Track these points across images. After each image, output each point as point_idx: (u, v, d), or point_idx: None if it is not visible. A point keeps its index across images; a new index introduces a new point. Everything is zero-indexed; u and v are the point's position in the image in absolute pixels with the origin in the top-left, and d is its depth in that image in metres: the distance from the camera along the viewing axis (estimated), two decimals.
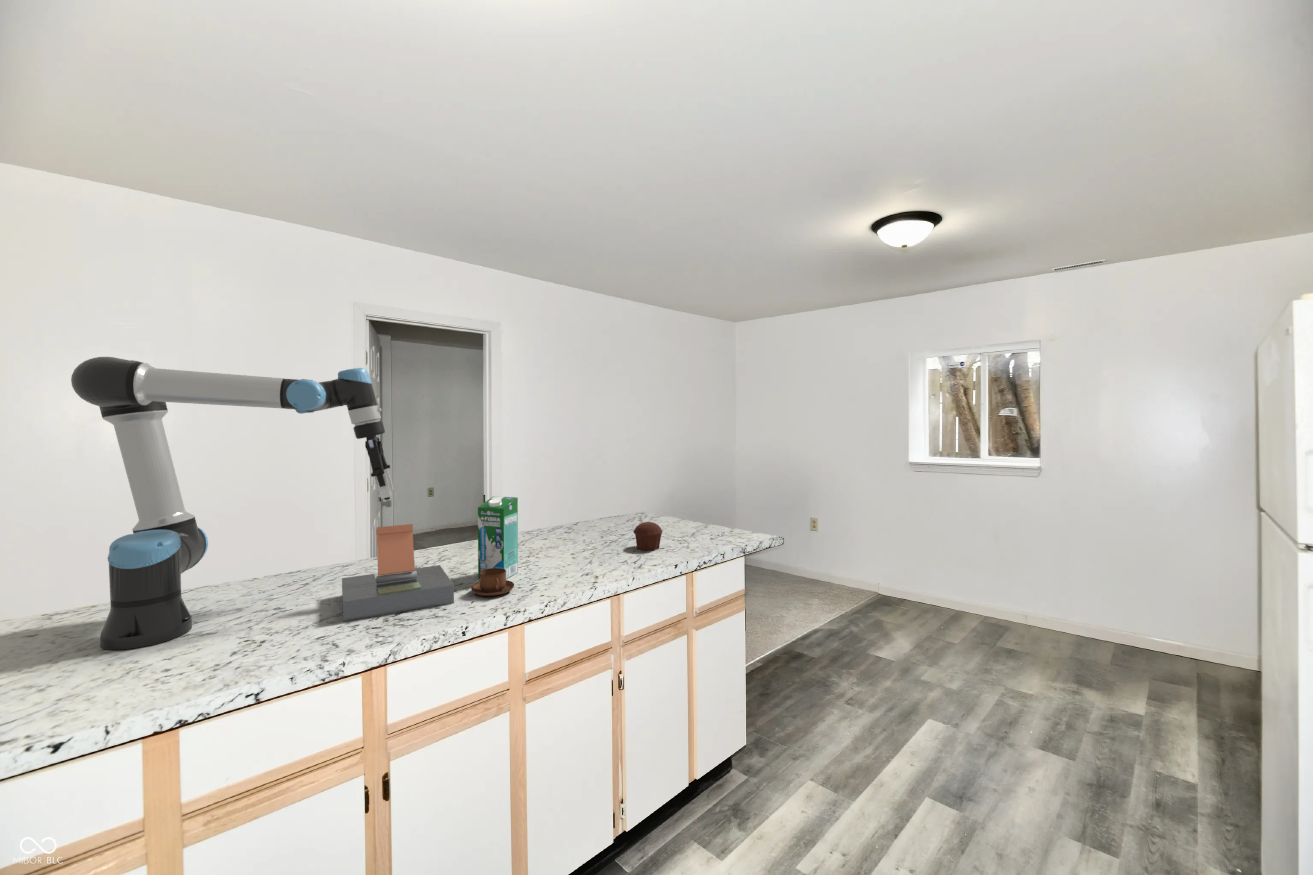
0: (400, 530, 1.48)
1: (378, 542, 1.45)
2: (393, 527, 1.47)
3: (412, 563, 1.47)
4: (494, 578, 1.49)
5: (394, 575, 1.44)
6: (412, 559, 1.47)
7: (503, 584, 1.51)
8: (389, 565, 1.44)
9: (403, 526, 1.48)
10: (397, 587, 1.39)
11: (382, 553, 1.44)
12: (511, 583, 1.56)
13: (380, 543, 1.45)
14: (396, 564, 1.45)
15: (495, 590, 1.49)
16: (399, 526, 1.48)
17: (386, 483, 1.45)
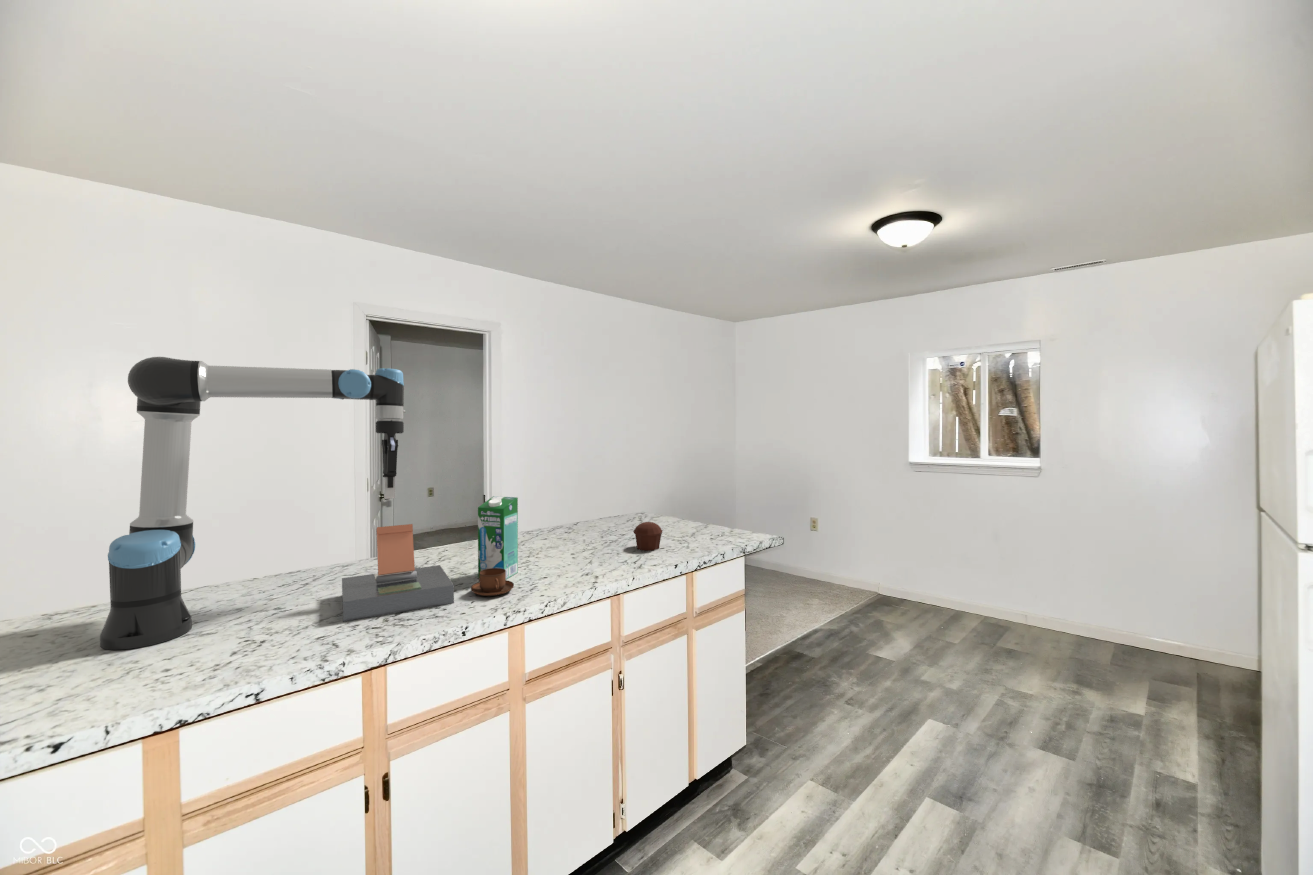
0: (400, 530, 1.48)
1: (378, 542, 1.45)
2: (393, 527, 1.47)
3: (412, 563, 1.47)
4: (494, 578, 1.49)
5: (394, 575, 1.44)
6: (412, 559, 1.47)
7: (503, 584, 1.51)
8: (389, 565, 1.44)
9: (403, 526, 1.48)
10: (397, 587, 1.39)
11: (382, 553, 1.44)
12: (511, 583, 1.56)
13: (380, 543, 1.45)
14: (396, 564, 1.45)
15: (495, 590, 1.49)
16: (399, 526, 1.48)
17: (393, 486, 1.57)
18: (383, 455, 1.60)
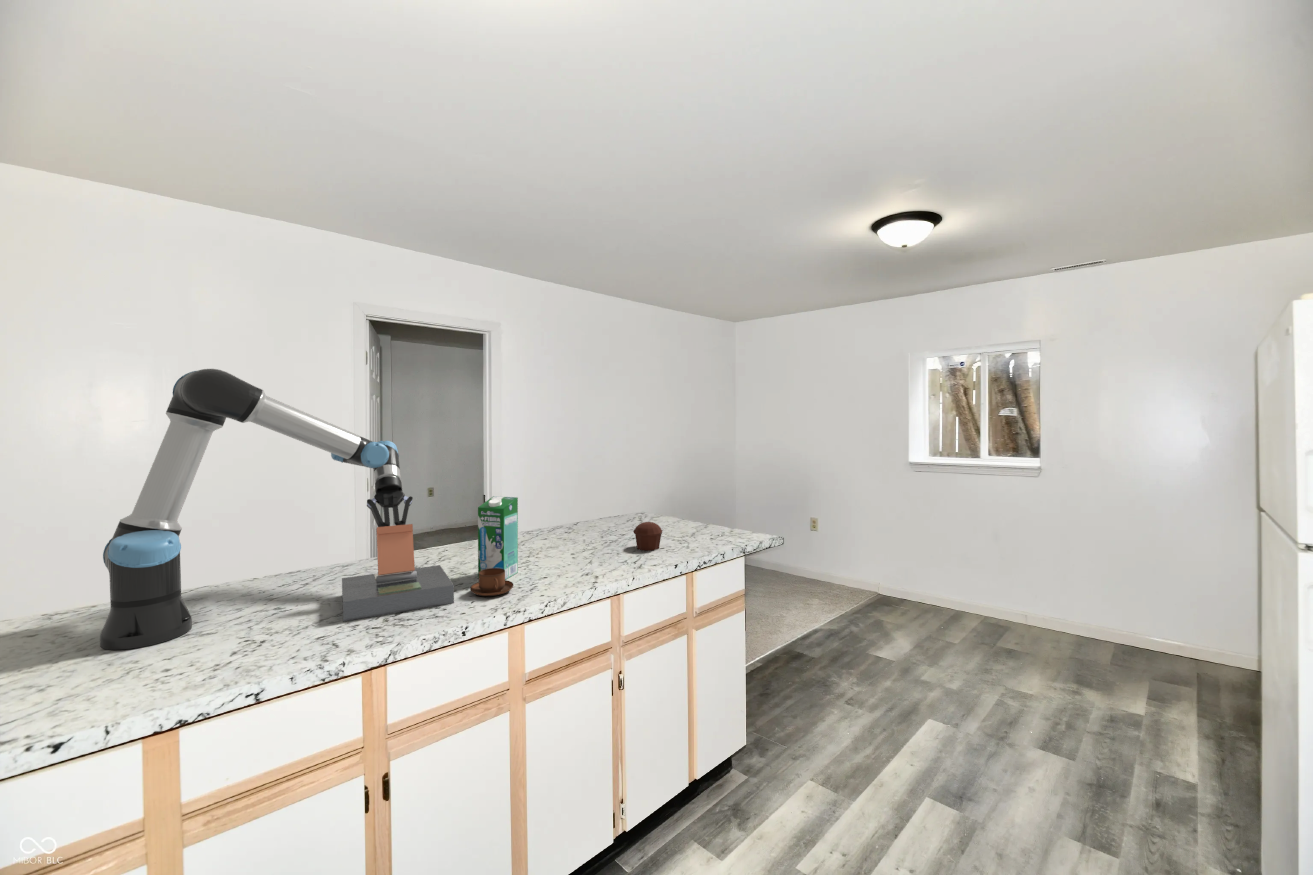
0: (400, 530, 1.48)
1: (378, 542, 1.45)
2: (393, 527, 1.47)
3: (412, 563, 1.47)
4: (493, 578, 1.49)
5: (394, 575, 1.44)
6: (412, 559, 1.47)
7: (502, 584, 1.51)
8: (389, 565, 1.44)
9: (403, 526, 1.48)
10: (397, 587, 1.39)
11: (382, 553, 1.44)
12: (510, 583, 1.56)
13: (380, 543, 1.45)
14: (396, 564, 1.45)
15: (494, 590, 1.49)
16: (399, 526, 1.48)
17: None
18: None
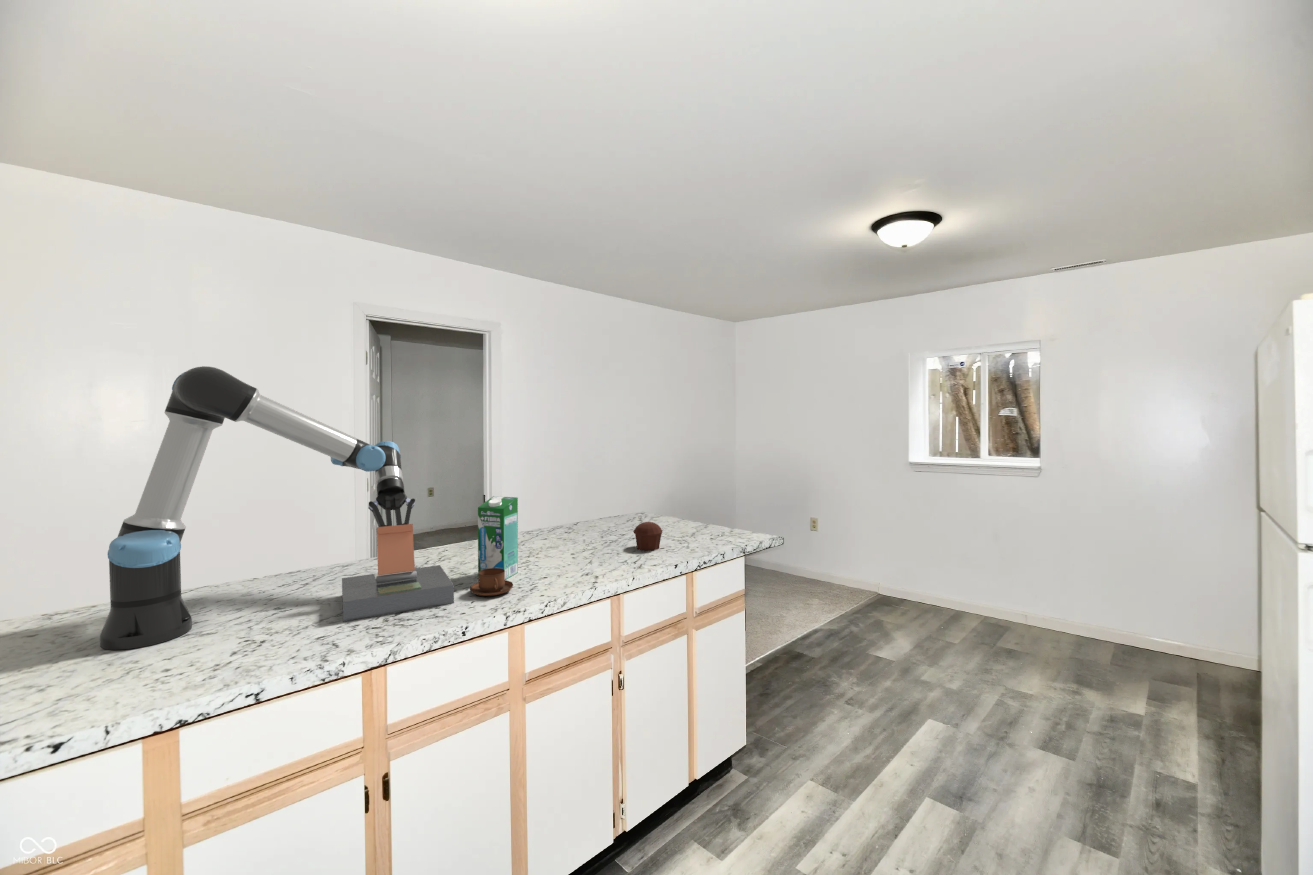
0: (400, 530, 1.47)
1: (378, 542, 1.44)
2: (393, 527, 1.47)
3: (412, 563, 1.47)
4: (493, 578, 1.49)
5: (394, 575, 1.44)
6: (412, 559, 1.47)
7: (502, 584, 1.51)
8: (389, 565, 1.44)
9: (403, 526, 1.48)
10: (397, 587, 1.39)
11: (382, 553, 1.44)
12: (510, 583, 1.56)
13: (380, 543, 1.44)
14: (396, 564, 1.45)
15: (494, 590, 1.49)
16: (399, 526, 1.48)
17: None
18: None
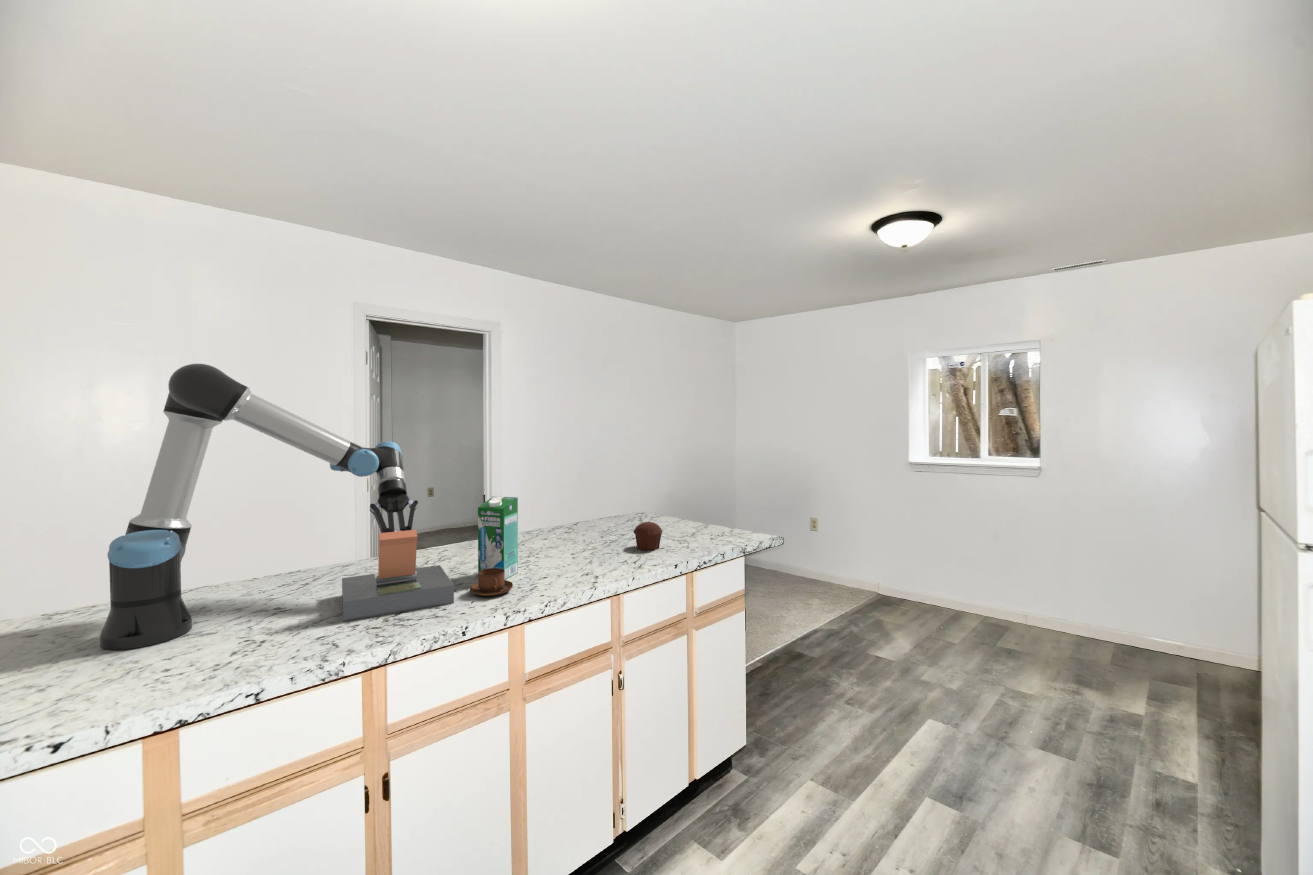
0: (404, 542, 1.40)
1: (380, 552, 1.38)
2: (397, 539, 1.39)
3: (413, 568, 1.45)
4: (493, 578, 1.49)
5: (394, 578, 1.44)
6: (413, 565, 1.45)
7: (502, 584, 1.51)
8: (390, 571, 1.42)
9: (407, 538, 1.40)
10: (397, 587, 1.39)
11: (384, 561, 1.40)
12: (510, 583, 1.56)
13: (382, 553, 1.39)
14: (397, 570, 1.43)
15: (494, 590, 1.49)
16: (403, 538, 1.39)
17: None
18: (380, 513, 1.49)
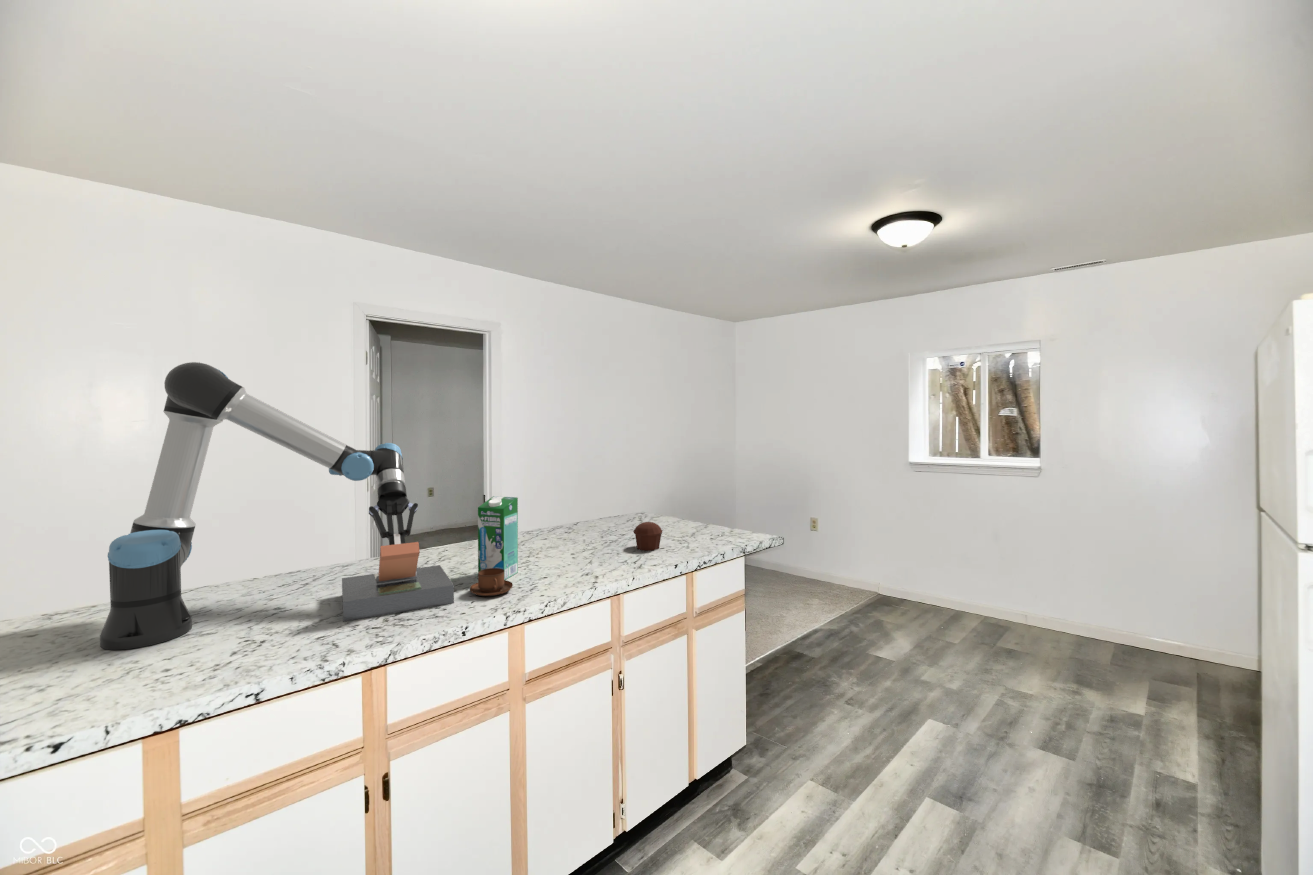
0: (406, 556, 1.37)
1: (381, 563, 1.36)
2: (398, 555, 1.35)
3: (413, 572, 1.45)
4: (492, 578, 1.49)
5: (394, 579, 1.44)
6: (414, 570, 1.44)
7: (501, 584, 1.51)
8: (390, 575, 1.41)
9: (409, 554, 1.37)
10: (397, 587, 1.39)
11: (384, 569, 1.38)
12: (510, 583, 1.56)
13: (383, 564, 1.36)
14: (397, 574, 1.42)
15: (493, 590, 1.49)
16: (405, 554, 1.36)
17: None
18: None
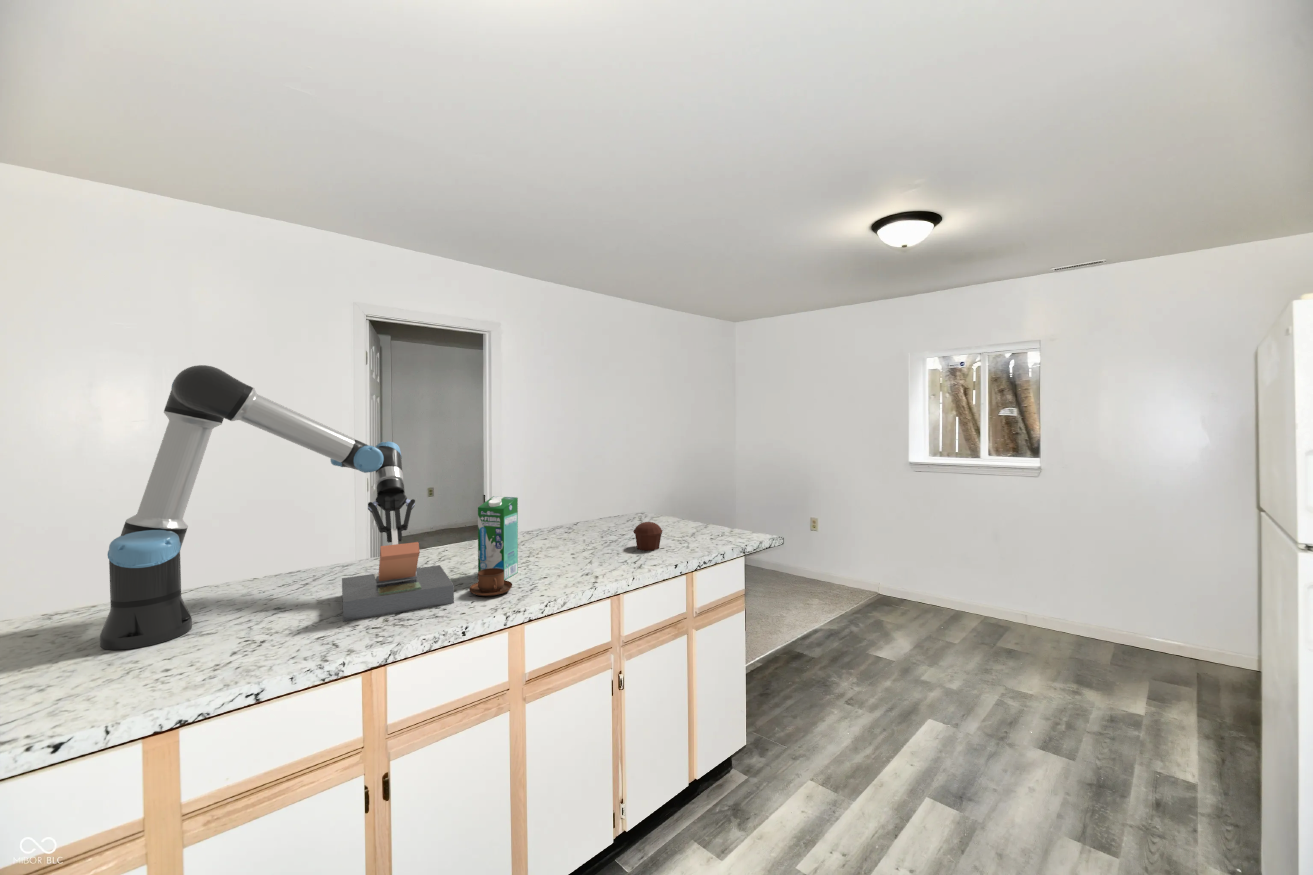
0: (406, 556, 1.37)
1: (381, 563, 1.36)
2: (398, 555, 1.35)
3: (413, 572, 1.45)
4: (492, 578, 1.49)
5: (394, 579, 1.44)
6: (414, 570, 1.44)
7: (501, 584, 1.51)
8: (390, 575, 1.41)
9: (409, 554, 1.37)
10: (397, 587, 1.39)
11: (384, 569, 1.38)
12: (509, 583, 1.56)
13: (383, 564, 1.36)
14: (397, 574, 1.42)
15: (493, 590, 1.49)
16: (405, 554, 1.36)
17: None
18: (378, 512, 1.52)
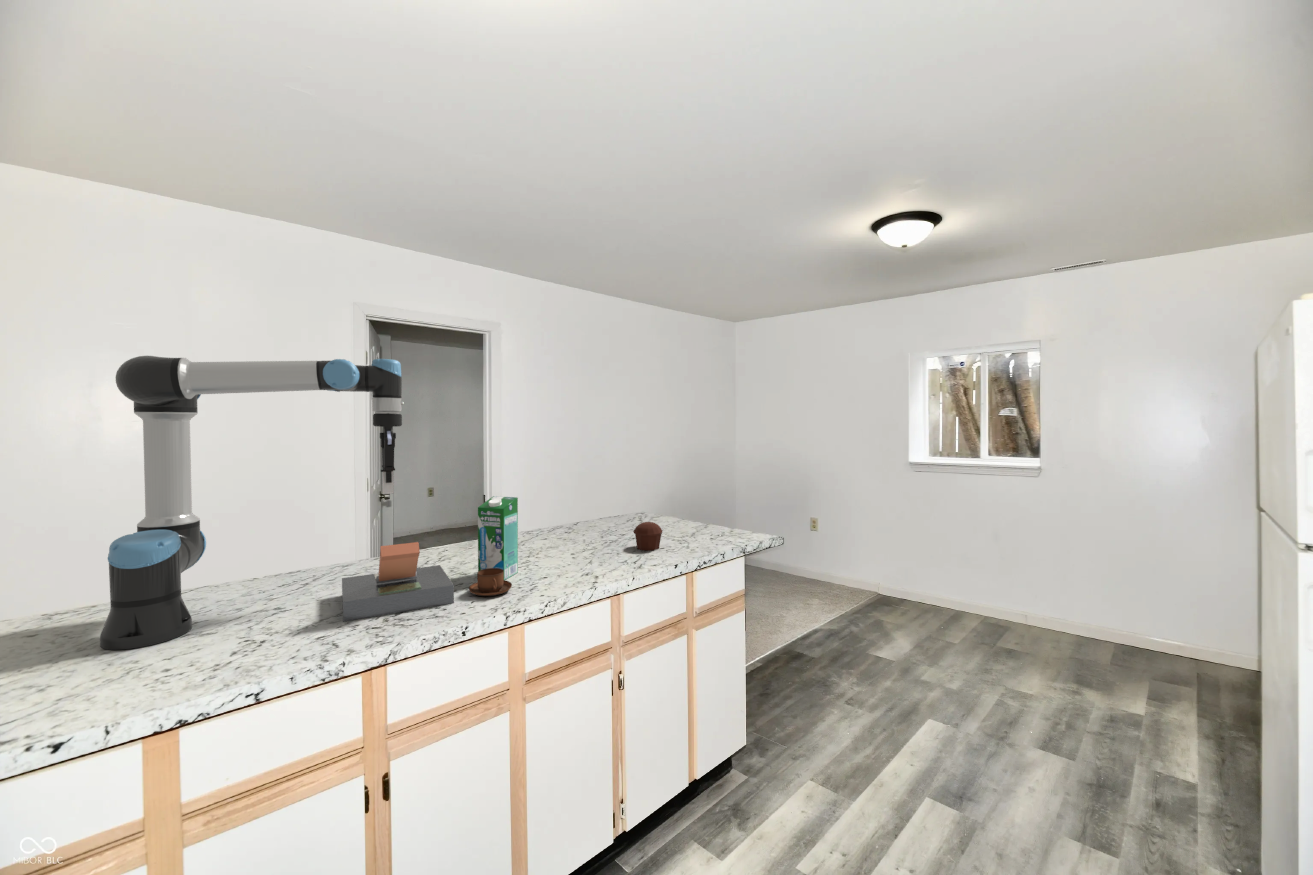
0: (406, 556, 1.37)
1: (381, 563, 1.36)
2: (398, 555, 1.35)
3: (413, 572, 1.45)
4: (492, 578, 1.49)
5: (394, 579, 1.44)
6: (414, 570, 1.44)
7: (501, 584, 1.51)
8: (390, 575, 1.41)
9: (409, 554, 1.37)
10: (397, 587, 1.39)
11: (384, 569, 1.38)
12: (509, 583, 1.56)
13: (383, 564, 1.36)
14: (397, 574, 1.42)
15: (493, 590, 1.49)
16: (405, 554, 1.36)
17: (392, 480, 1.52)
18: (382, 448, 1.54)
